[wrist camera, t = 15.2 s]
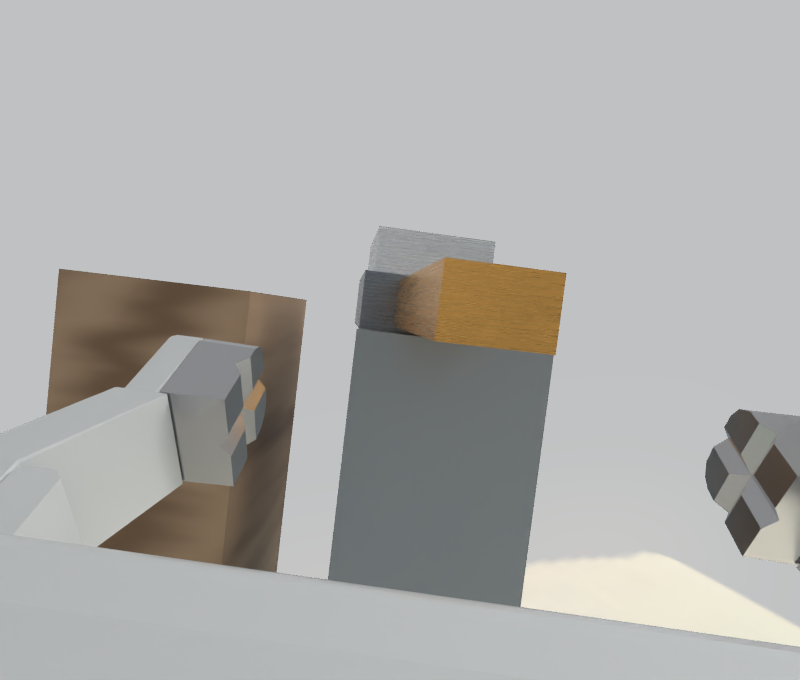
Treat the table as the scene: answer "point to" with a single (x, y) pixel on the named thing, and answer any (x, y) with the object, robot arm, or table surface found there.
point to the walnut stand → (129, 352)
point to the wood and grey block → (457, 293)
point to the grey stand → (439, 467)
